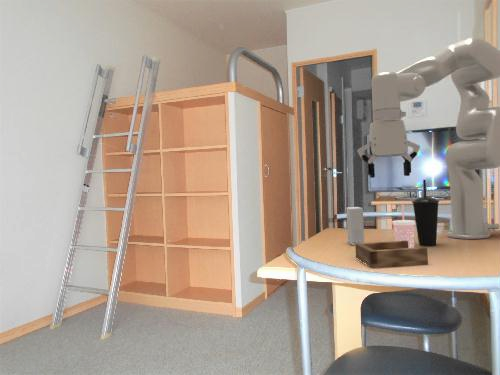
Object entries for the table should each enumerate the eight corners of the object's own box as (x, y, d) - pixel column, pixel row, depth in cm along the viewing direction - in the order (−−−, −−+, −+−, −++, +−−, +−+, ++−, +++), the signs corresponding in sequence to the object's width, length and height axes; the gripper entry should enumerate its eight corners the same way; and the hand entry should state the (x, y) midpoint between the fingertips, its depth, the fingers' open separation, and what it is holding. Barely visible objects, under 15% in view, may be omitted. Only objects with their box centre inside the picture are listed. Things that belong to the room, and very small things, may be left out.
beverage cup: (395, 250, 115) (393, 202, 115) (418, 251, 112) (416, 202, 112) (391, 254, 110) (389, 204, 110) (415, 255, 107) (412, 203, 106)
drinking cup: (412, 246, 119) (409, 180, 118) (415, 242, 126) (412, 180, 125) (440, 247, 115) (437, 179, 115) (441, 243, 122) (438, 178, 122)
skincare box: (365, 245, 126) (363, 207, 126) (351, 245, 127) (349, 208, 126) (360, 242, 133) (358, 206, 132) (347, 242, 133) (345, 207, 132)
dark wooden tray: (406, 255, 108) (405, 240, 108) (428, 264, 96) (427, 247, 96) (356, 258, 107) (355, 243, 107) (371, 268, 95) (370, 251, 95)
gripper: (413, 117, 116) (416, 175, 116) (353, 121, 117) (356, 178, 118) (422, 112, 108) (425, 174, 108) (358, 117, 110) (361, 178, 110)
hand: (389, 176), depth 113 cm, fingers open, 9 cm apart
